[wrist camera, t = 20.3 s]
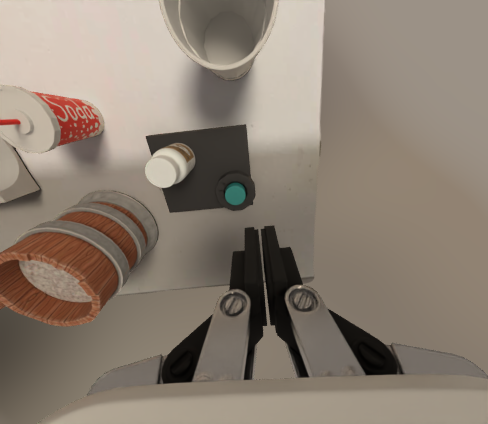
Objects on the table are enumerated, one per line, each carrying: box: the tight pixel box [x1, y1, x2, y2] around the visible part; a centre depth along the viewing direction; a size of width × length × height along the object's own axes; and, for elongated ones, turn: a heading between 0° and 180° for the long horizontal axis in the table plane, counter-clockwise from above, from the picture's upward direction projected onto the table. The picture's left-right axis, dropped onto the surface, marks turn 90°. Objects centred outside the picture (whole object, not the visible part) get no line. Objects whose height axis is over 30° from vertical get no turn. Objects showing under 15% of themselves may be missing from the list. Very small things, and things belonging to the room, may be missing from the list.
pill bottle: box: [145, 143, 195, 188], centre depth 24 cm, size 4×4×8 cm
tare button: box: [225, 183, 246, 205], centre depth 28 cm, size 3×3×2 cm
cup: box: [159, 0, 279, 80], centre depth 18 cm, size 8×8×12 cm
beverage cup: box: [0, 85, 104, 154], centre depth 20 cm, size 6×6×14 cm
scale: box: [146, 124, 255, 213], centre depth 29 cm, size 14×12×3 cm
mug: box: [0, 190, 158, 326], centre depth 28 cm, size 14×19×15 cm
